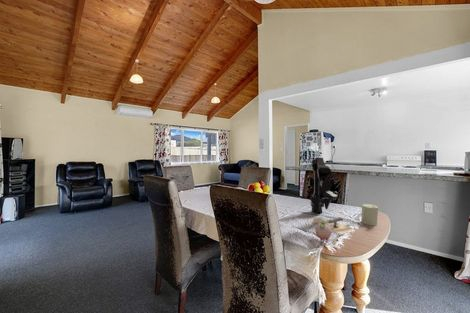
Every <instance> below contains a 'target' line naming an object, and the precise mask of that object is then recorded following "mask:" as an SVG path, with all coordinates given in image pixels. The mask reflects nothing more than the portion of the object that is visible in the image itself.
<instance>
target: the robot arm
mask: <svg viewBox="0 0 470 313" xmlns="http://www.w3.org/2000/svg"><path fill="white" fill-rule="evenodd" d="M310 168H311V170H312V171H313V173H314V174H313V180H314V182H313V183H314V184H313V190H314V191H313V194H312V195H311V196H310V202H309V203H310V207H311V212H312V213H313V214H317V215H322V214H323V208H325V209H324V210H328V209H329V206H330V203H331V202H332V201H336V199H337V198H339V194H338V192H337V191H331V189H332V187H333V184H332V182H331V181H330V180H332V179H333V171H332V169H331V168H330V167H329V165H326V163H325V160H324V157H315V158H314V159H313V160H311V163H310Z"/></svg>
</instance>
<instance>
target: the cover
mask: <svg viewBox="0 0 470 313" xmlns="http://www.w3.org/2000/svg"><path fill="white" fill-rule="evenodd" d="M329 220H331V218H328V217H325V216H323V215H317V216H314V217H313V221H314V222H317V223H321V222H324V223H325V224H330V223H329Z"/></svg>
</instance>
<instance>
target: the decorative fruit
mask: <svg viewBox="0 0 470 313" xmlns="http://www.w3.org/2000/svg"><path fill="white" fill-rule="evenodd" d="M314 228H315V230H314V231H315V234H316V236H317V238H319V239H320V240H322V241H324V240H327V239H329V238H330V237H331V236H332V232H333V231H331V228H330V227H329V225H327V224H325V223H324V222H321V223H319V224H317V225H315V227H314Z"/></svg>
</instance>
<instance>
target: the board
mask: <svg viewBox="0 0 470 313" xmlns="http://www.w3.org/2000/svg"><path fill="white" fill-rule="evenodd" d="M308 223H309V224H313V225H315V226H316V225H317V224H319V223H317V222H314V220H312V221H309V222H308ZM327 225H329V227H330V228H331V231H332V232H334V233H337V234H340V235H344V234H347V233H349V232H350V231H351V232H352V231H353V230H355V228H353V227H350V226H347V225H345V224H341V223H338V222H337V226H336V227H334V223H330V224H327Z"/></svg>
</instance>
